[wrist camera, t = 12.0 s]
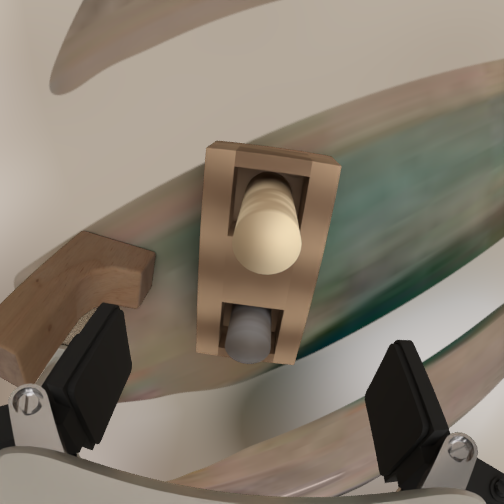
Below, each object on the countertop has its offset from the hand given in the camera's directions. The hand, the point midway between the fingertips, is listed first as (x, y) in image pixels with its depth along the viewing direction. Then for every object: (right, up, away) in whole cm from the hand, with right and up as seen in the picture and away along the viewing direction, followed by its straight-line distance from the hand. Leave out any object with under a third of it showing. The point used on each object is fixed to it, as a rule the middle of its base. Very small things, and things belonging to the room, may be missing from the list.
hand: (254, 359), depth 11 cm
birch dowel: (+1, +9, +17) cm, 19 cm away
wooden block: (-15, +3, +22) cm, 27 cm away
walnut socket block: (+1, +4, +21) cm, 21 cm away
